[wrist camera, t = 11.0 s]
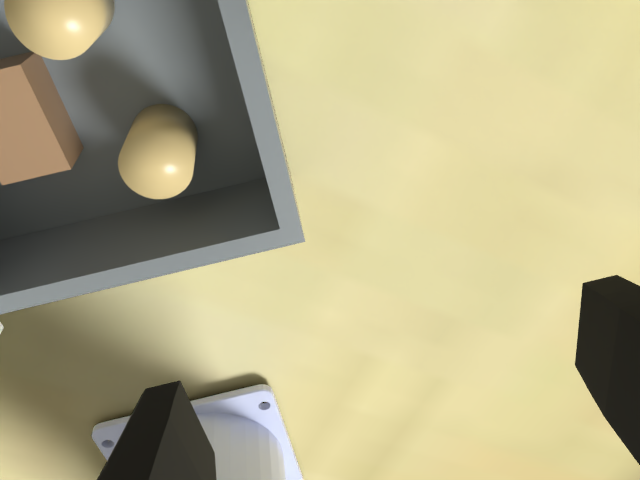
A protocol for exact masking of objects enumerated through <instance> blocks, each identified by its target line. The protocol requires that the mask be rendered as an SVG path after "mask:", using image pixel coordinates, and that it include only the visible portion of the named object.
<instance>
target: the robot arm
mask: <svg viewBox="0 0 640 480" xmlns="http://www.w3.org/2000/svg"><path fill="white" fill-rule="evenodd" d="M575 366H576V368H577V370H578V371H579V373H580V375H581V377H582V379H583V380H584V382H585V384H586V386H587V388H588V390H589V391H590V393H591V395H592V397H593V398H594V400H595V402H596V403H597V405H598V407H599V409H600V410H601V412H602V414H603V415H604V417H605V418H606V420H607V421H608V422H609V424H610V425H611V427H612V428H613V429H614V431H615V432H616V434H617V435H618V436H619V438H620V439H621V440H622V442H623V443H624V444H625V446H626V447H627V449H628V450H629V451H630V453H631V454H632V455H633V457H634V458H635V459H636V461H637V462H638V463H639V465H640V286H638V285H636V284H634V283H632V282H630V281H628V280H626V279H624V278H622V277H620V276H618V275H615V276H610V277H606V278H602V279H598V280H594V281H590V282H586V283H583V287H582V298H581V308H580V318H579V329H578V339H577V350H576V360H575ZM262 402H266V403H262ZM91 436H92V439H93V440H94V442H95V444H96V445H97V447H98V448H99V450H100V451H101V453H102V454H103V456H104V457H105V459H106V460H107V462H106V464H105V466H104V468H103V470H102V471H101V473H100V475H99V477H98V479H97V480H304V479H303V476H302V473H301V470H300V467H299V464H298V461H297V459H296V456H295V453H294V450H293V447H292V444H291V441H290V439H289V436H288V433H287V430H286V427H285V424H284V421H283V419H282V416H281V413H280V410H279V407H278V404H277V401H276V399H275V396H274V393H273V390H272V388H271V387H270V386H268V385H265V384H259V385H254V386H250V387H246V388H242V389H238V390H234V391H230V392H226V393H221V394H217V395H213V396H209V397H205V398H201V399H197V400H193V401H190V400H189V398H188V396H187V394H186V392H185V390H184V388H183V386H182V383H181V381H176V382H172V383H168V384H164V385H160V386H155V387H151V388H147V389H145V391H144V392H143V394H142V395H141V397H140V399H139V401H138V403H137V405H136V407H135V409H134V411H133V413H132V414H131V416H127V417H122V418H118V419H114V420H110V421H106V422H102V423H99V424H96V425H95V426H94V428H93V431H92V435H91Z"/></svg>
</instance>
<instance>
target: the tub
mask: <svg viewBox="0 0 640 480" xmlns="http://www.w3.org/2000/svg"><path fill="white" fill-rule="evenodd" d="M301 242H305V239H304V234H303V230H302V225H301V221H300V216H299V211H298V207H297V202H296V198H295V193H294V189H293V184H292V180H291V176H290V171H289V167H288V163H287V159H286V155H285V151H284V147H283V143H282V139H281V135H280V131H279V127H278V123H277V118H276V114H275V110H274V106H273V102H272V98H271V94H270V90H269V86H268V82H267V78H266V74H265V69H264V65H263V61H262V57H261V53H260V49H259V45H258V41H257V37H256V33H255V29H254V25H253V20H252V16H251V12H250V8H249V4H248V0H0V314H4V313H8V312H12V311H17V310H21V309H25V308H29V307H33V306H37V305H42V304H46V303H50V302H54V301H58V300H63V299H67V298H71V297H75V296H79V295H84V294H88V293H92V292H96V291H100V290H104V289H109V288H113V287H117V286H121V285H125V284H130V283H134V282H138V281H142V280H146V279H151V278H155V277H159V276H163V275H167V274H172V273H176V272H180V271H184V270H188V269H192V268H197V267H201V266H205V265H209V264H213V263H218V262H222V261H226V260H230V259H234V258H239V257H243V256H247V255H251V254H255V253H260V252H264V251H268V250H272V249H276V248H280V247H285V246H289V245H293V244H297V243H301Z"/></svg>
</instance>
